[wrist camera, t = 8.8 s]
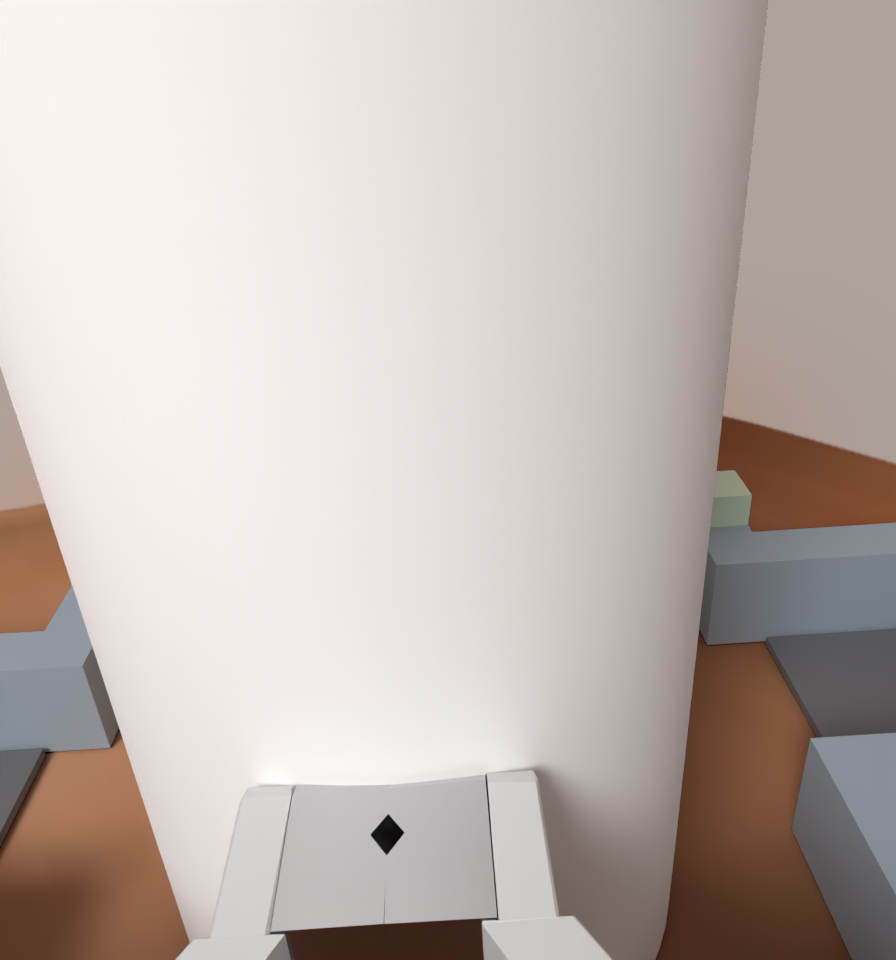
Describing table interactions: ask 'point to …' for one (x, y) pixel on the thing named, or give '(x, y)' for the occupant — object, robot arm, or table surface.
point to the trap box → (724, 619)
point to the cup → (384, 394)
